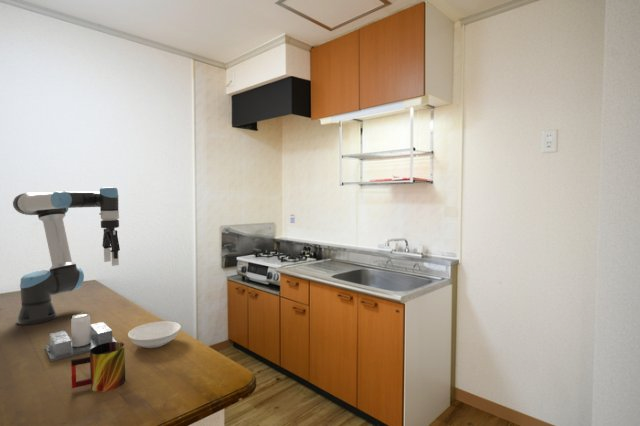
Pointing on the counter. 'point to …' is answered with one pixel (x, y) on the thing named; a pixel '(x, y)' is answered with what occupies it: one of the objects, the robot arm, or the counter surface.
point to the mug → (103, 367)
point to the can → (81, 330)
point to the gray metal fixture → (64, 348)
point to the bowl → (154, 334)
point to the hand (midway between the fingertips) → (111, 263)
